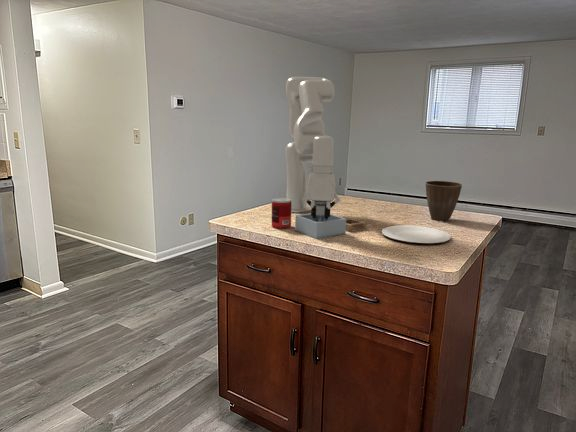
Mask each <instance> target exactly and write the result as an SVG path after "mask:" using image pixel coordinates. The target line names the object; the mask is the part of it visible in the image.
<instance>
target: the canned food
mask: <svg viewBox="0 0 576 432" xmlns="http://www.w3.org/2000/svg"><path fill="white" fill-rule="evenodd" d="M291 202H292V201H291V199H289V198H287V197H275V198H272V199H271V227H272V228H273V229H277V230H278V229H279V230H286V229H290V228H291V225H292V212H291V205H292V204H291Z"/></svg>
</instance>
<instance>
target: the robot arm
mask: <svg viewBox="0 0 576 432" xmlns="http://www.w3.org/2000/svg"><path fill="white" fill-rule="evenodd" d="M285 93H286V94H285V95H286V98H287V101H288V105H289V121H288V122H289V128H288V131H289V135H290V137H291V138H293V140H294V141H292V142H289V143H287V145H286V146H285V150H284V151H285V159H286V198H289V199H291V201H292V202H291V204H292V205H291V213H296V214H297V213H300V214H301V213H307V212H310V214H311V216H312V218H313V219H314V218H315V204H314V203H315V201H326V202H327V209H326V219H328V217H330V214H331V208H332V207H334V206H336V205H337V204H338V203H340V201H341V199H340V197H339V196H338V194H337V192H336V182H335V181H336V179H335V177H336V176H335V174H334V173H333V166H334V146H335V145H334V144H335V142H334V138H333V137H332V136H329V135H327V134H326V133H325V131H326V129H325V123H324V121H323V119H322V117H324V107H323V103H322V102H328V103H329V102H331V101H332V100H333V99H334V98H335V93H336V92H335V86H334V84H333V82H332V81H331V80H330V79H327V78H325V77H317V76H292V77H289V78H288V79H287V80H286V83H285ZM304 164H312V165H310V166H309V165H308V167H307V168H308V169H306V167H305V166H304ZM307 170H309V171H311V172H310V173H309V175H308V171H307Z"/></svg>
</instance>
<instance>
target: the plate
mask: <svg viewBox="0 0 576 432" xmlns="http://www.w3.org/2000/svg"><path fill="white" fill-rule="evenodd" d="M381 233H382V235H383V236H385V237H386V238H389V239H391V240H395V241H397V242H398V241H399V242H404V243H409V244H410V243H411V244H419V245H422V244H423V245H433V244H435V245H436V244H442V243H446V242H448V241H450V240H451V239H452V237H451V235H450V234H449V233H447V232H446V231H444V230H440V229H437V228H433V227H428V226H423V225H407V224H406V225H391V226H387V227H384V228H382V230H381Z"/></svg>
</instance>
